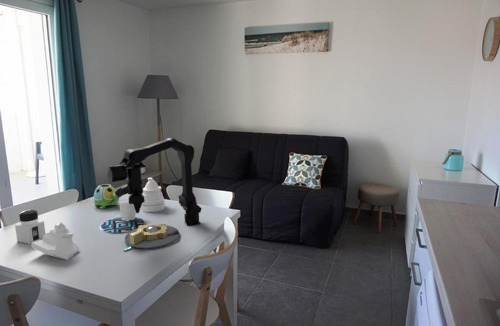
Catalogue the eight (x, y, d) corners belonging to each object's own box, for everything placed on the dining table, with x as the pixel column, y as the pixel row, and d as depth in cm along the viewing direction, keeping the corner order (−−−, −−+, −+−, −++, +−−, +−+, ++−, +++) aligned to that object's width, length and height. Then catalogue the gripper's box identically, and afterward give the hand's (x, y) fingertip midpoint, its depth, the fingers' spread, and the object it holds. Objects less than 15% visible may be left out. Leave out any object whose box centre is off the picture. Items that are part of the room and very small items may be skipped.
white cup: (131, 222, 164) (130, 203, 162) (117, 221, 165) (115, 202, 164) (139, 217, 171) (138, 198, 170) (126, 216, 173) (124, 197, 171)
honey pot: (161, 212, 179) (159, 180, 176) (137, 211, 180) (135, 180, 176) (167, 204, 192) (165, 174, 188) (145, 204, 192) (143, 174, 189)
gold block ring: (152, 225, 156) (151, 217, 155) (176, 231, 149) (176, 223, 148) (119, 240, 139) (118, 231, 138) (145, 247, 132) (145, 238, 131)
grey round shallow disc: (175, 225, 160) (174, 215, 160) (182, 244, 139) (182, 233, 138) (124, 231, 153) (123, 221, 152) (123, 253, 131) (122, 241, 130)
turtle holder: (109, 211, 179) (107, 190, 177) (89, 206, 188) (87, 186, 186) (128, 205, 190) (127, 185, 187) (108, 200, 199) (106, 181, 197)
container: (46, 237, 146) (42, 209, 144) (29, 244, 139) (25, 215, 137) (33, 234, 149) (30, 207, 146) (16, 241, 142) (12, 213, 139)
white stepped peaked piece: (61, 248, 139) (67, 215, 139) (82, 260, 132) (89, 225, 132) (29, 253, 128) (37, 217, 128) (51, 265, 121) (59, 228, 121)
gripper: (115, 175, 147) (118, 208, 150) (113, 185, 130) (117, 223, 133) (141, 173, 151) (143, 205, 154) (143, 183, 133) (146, 219, 137)
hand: (137, 212), depth 144 cm, fingers closed
